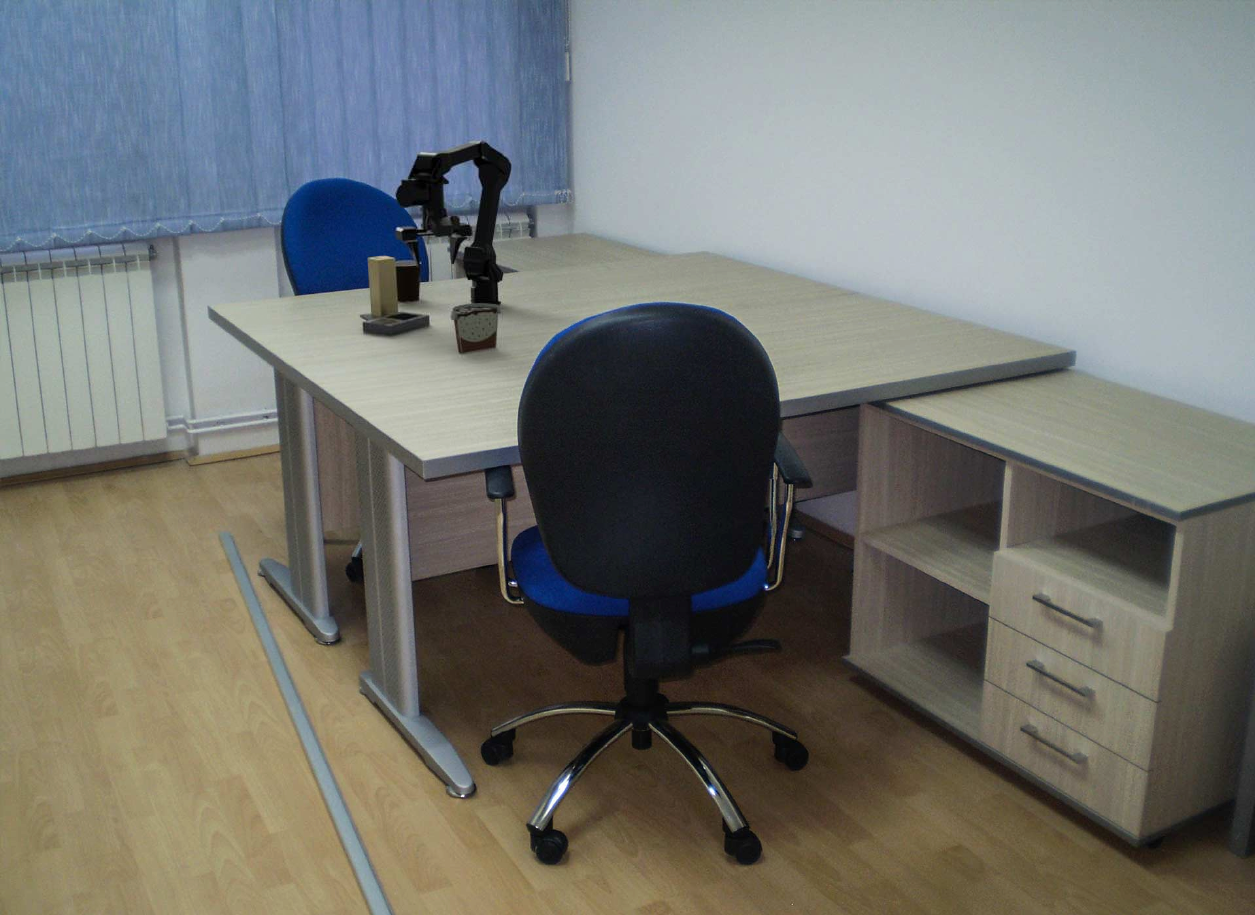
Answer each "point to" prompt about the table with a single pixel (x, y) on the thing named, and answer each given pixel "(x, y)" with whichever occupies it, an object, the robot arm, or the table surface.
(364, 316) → the rubber pad
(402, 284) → the coffee mug
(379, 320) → the grey tray
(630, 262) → the table surface
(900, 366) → the table surface
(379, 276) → the tan rectangular block
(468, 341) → the food container
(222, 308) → the table surface
